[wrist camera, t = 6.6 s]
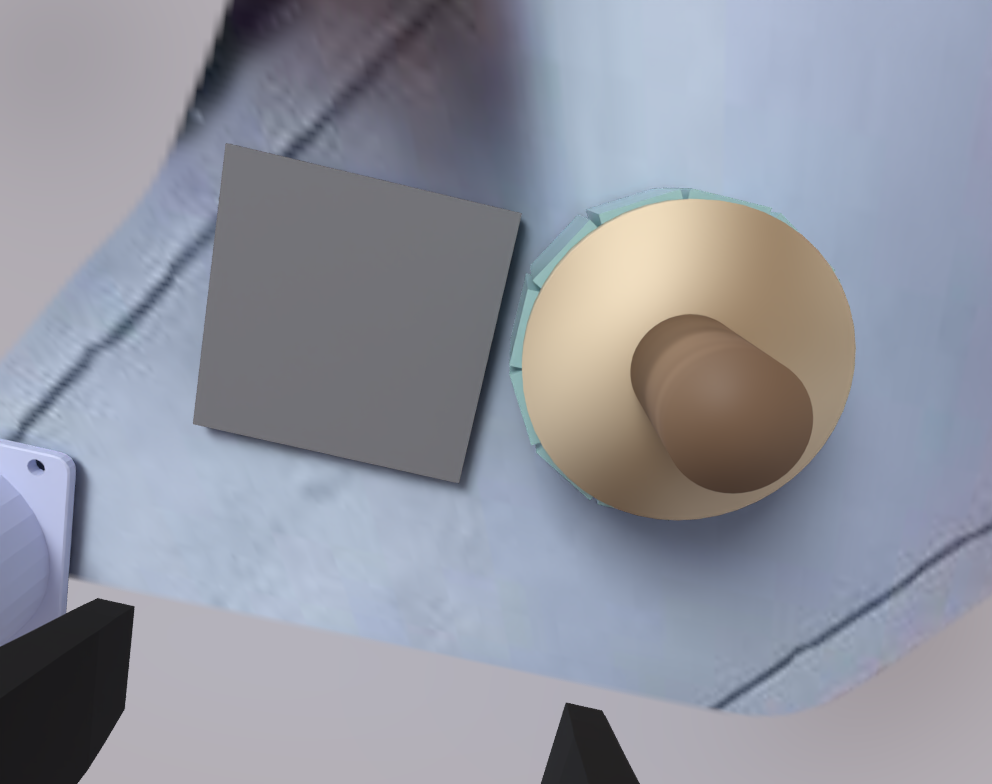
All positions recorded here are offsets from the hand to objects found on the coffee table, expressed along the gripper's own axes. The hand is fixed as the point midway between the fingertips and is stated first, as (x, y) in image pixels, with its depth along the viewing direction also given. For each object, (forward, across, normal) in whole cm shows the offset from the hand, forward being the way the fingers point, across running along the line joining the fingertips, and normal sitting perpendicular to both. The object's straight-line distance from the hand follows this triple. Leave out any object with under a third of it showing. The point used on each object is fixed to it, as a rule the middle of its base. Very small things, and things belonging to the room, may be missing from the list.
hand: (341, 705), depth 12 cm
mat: (+10, +3, -4) cm, 11 cm away
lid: (+7, -6, -5) cm, 11 cm away
